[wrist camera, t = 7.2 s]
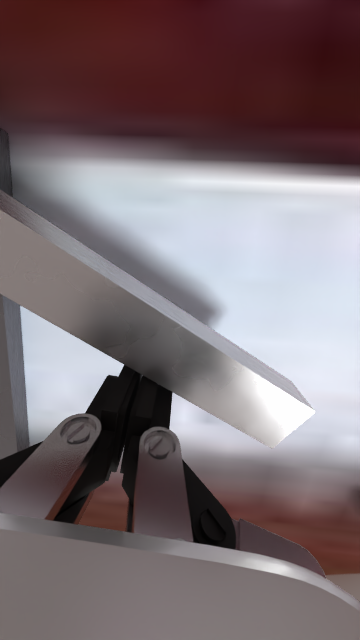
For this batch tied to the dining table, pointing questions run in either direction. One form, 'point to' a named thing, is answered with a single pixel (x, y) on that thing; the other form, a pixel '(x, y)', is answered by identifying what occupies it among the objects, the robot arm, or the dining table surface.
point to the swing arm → (141, 327)
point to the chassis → (11, 351)
